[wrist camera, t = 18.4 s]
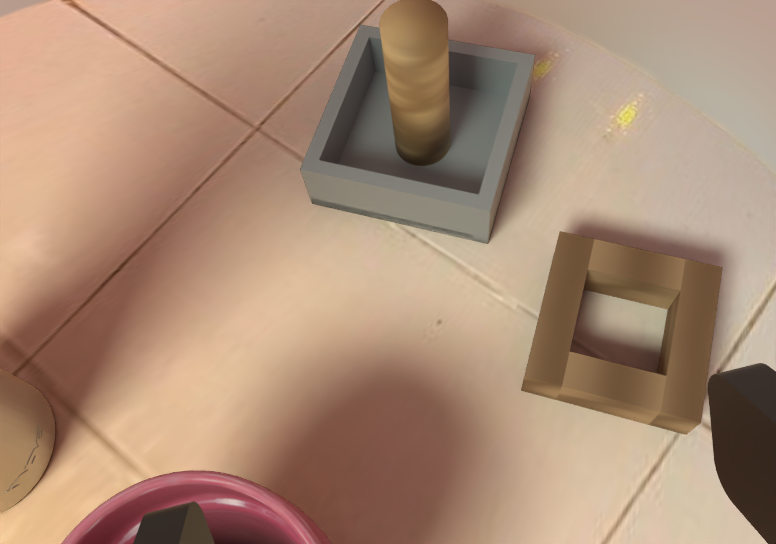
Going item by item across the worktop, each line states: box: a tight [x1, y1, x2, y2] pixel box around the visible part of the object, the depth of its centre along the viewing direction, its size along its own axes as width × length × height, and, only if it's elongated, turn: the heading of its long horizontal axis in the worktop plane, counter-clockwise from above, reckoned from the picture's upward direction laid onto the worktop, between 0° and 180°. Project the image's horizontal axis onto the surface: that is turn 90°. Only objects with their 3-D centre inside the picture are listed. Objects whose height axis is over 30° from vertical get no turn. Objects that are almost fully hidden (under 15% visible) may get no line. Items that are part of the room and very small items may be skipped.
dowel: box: [380, 0, 450, 166], centre depth 48 cm, size 4×4×12 cm
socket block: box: [521, 231, 723, 434], centre depth 46 cm, size 10×10×3 cm
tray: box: [300, 25, 535, 244], centre depth 52 cm, size 13×13×4 cm
